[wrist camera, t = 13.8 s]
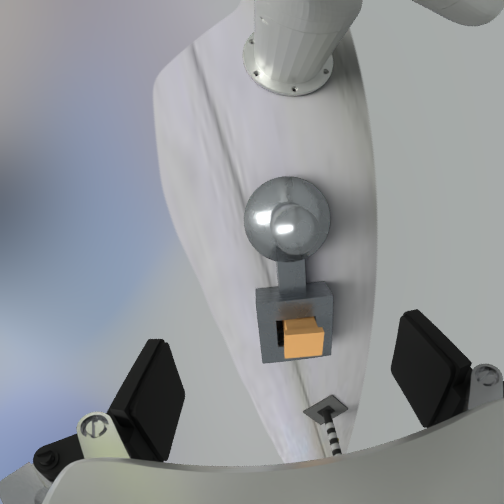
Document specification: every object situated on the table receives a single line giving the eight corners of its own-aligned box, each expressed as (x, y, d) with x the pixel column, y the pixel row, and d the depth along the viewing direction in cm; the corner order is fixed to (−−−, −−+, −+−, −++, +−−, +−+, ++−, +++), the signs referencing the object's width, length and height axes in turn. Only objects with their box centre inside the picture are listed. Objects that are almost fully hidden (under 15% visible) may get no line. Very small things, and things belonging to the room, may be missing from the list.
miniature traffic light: (350, 406, 47) (389, 526, 18) (320, 423, 48) (345, 541, 19) (332, 391, 45) (372, 526, 17) (301, 410, 47) (322, 542, 18)
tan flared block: (278, 301, 40) (285, 335, 31) (310, 299, 40) (324, 332, 31) (279, 322, 41) (284, 358, 32) (309, 320, 41) (322, 355, 32)
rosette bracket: (240, 180, 35) (235, 182, 26) (321, 173, 35) (345, 173, 25) (259, 344, 42) (260, 386, 33) (326, 336, 42) (342, 375, 32)
